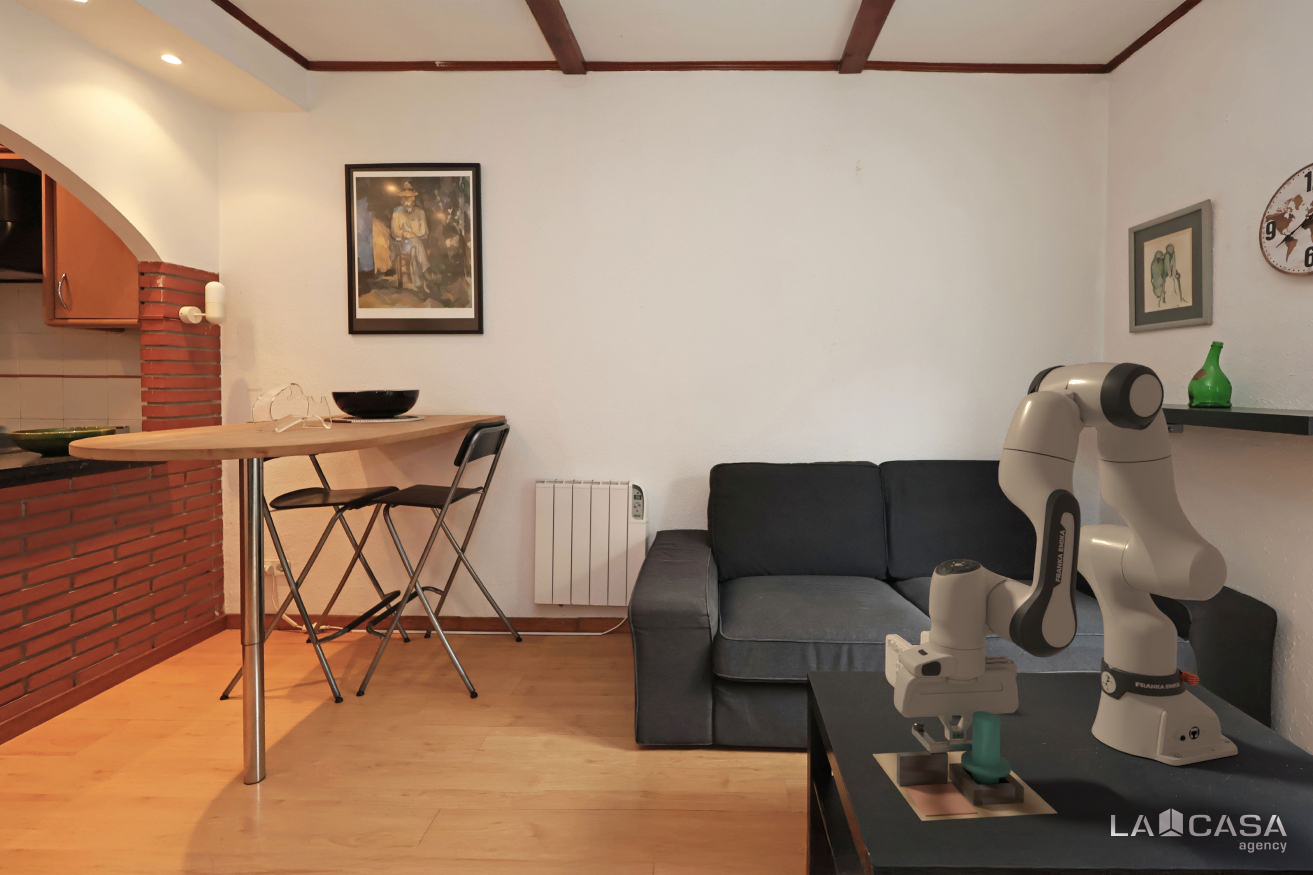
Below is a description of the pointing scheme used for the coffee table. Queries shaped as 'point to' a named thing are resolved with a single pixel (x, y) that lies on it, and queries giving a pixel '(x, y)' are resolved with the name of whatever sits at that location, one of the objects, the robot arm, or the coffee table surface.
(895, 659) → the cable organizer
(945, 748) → the lever
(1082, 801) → the coffee table surface
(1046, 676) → the coffee table surface
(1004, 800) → the socket board
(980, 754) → the plug
